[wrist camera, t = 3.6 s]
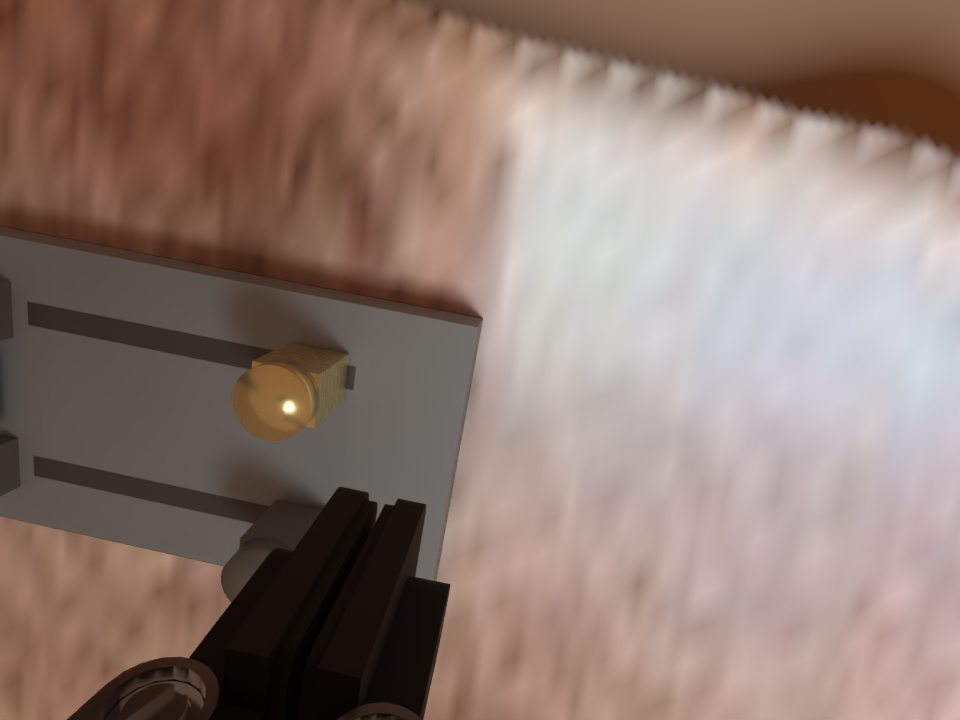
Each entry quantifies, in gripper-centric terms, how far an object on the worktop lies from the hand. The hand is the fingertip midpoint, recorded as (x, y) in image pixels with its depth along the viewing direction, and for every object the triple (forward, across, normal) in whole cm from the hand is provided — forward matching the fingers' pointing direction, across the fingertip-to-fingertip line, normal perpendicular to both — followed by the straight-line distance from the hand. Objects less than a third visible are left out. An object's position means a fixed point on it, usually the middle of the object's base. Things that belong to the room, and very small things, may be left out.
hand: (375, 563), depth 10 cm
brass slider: (+12, +6, +1) cm, 13 cm away
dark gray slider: (+11, +6, +8) cm, 15 cm away
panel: (+14, +12, +4) cm, 18 cm away
